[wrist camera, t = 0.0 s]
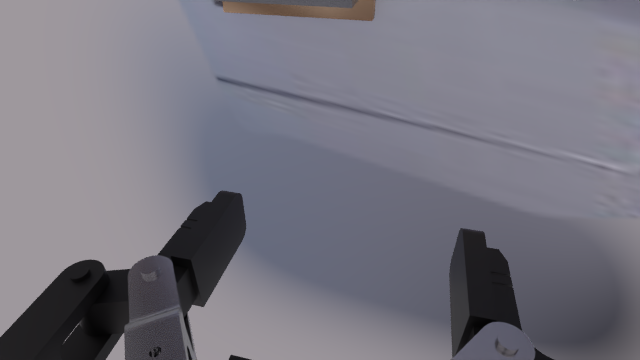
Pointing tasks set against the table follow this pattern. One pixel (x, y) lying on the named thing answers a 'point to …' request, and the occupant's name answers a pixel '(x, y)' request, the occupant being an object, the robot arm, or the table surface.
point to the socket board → (305, 8)
